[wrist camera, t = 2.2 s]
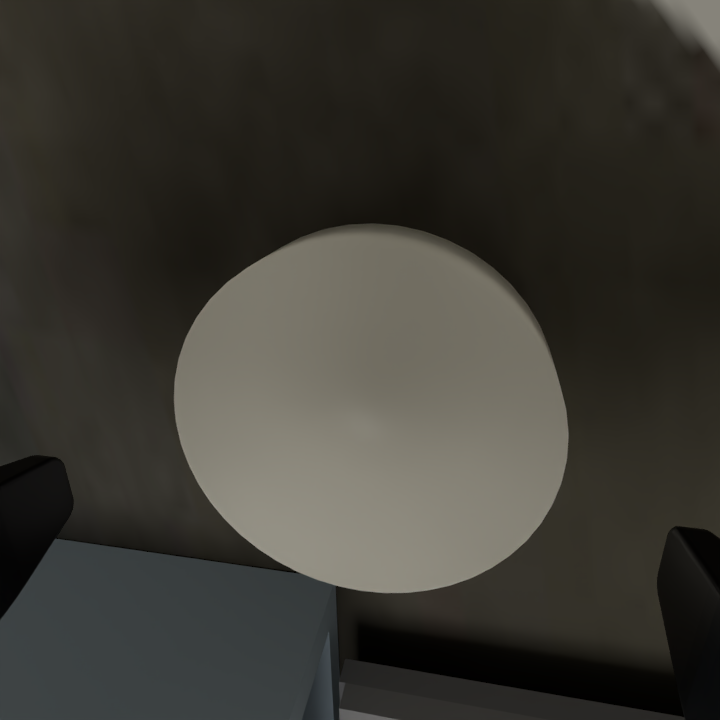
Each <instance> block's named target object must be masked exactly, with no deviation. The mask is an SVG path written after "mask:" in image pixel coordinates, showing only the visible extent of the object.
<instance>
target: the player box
mask: <svg viewBox="0 0 720 720" xmlns="http://www.w3.org/2000/svg"><path fill="white" fill-rule="evenodd" d="M339 679H340V671H339V649H338V627H337V606H336V585H333V584H329V583H326V582H323V581H319V580H316V579H314V578H311V577H309V576H307V575H304V574H298V573H291V572H284V571H277V570H270V569H263V568H256V567H249V566H242V565H235V564H228V563H221V562H214V561H207V560H200V559H194V558H187V557H180V556H173V555H166V554H159V553H152V552H145V551H138V550H131V549H124V548H117V547H110V546H103V545H96V544H90V543H83V542H76V541H69V540H62V539H55V540H54V542H53V543H52V545H51V546H50V548H49V549H48V551H47V552H46V554H45V556H44V557H43V559H42V560H41V562H40V563H39V565H38V566H37V568H36V570H35V571H34V573H33V574H32V576H31V577H30V579H29V580H28V582H27V584H26V585H25V587H24V588H23V590H22V591H21V593H20V594H19V595H18V597H17V598H16V600H15V601H14V603H13V604H12V605H11V607H10V608H9V609H8V611H7V612H6V613H5V615H4V616H3V617H2V619H1V620H0V720H340V717H339V707H340V694H339Z"/></svg>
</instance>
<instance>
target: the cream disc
mask: <svg viewBox="0 0 720 720" xmlns="http://www.w3.org/2000/svg"><path fill="white" fill-rule="evenodd" d="M174 408H175V418H176V425H177V429H178V434H179V438H180V442H181V446H182V448H183V451H184V454H185V456H186V459H187V462H188V464H189V466H190V468H191V470H192V472H193V474H194V476H195V478H196V480H197V482H198V484H199V486H200V487H201V489H202V490H203V492H204V493H205V495H206V496H207V498H208V499H209V501H210V502H211V503H212V505H213V506H214V507H215V508H216V509H217V511H218V512H219V513H220V514H221V515H222V517H223V518H224V519H225V520H226V521H227V522H228V523H229V524H230V525H231V526H232V527H233V528H234V529H235V530H236V531H237V532H238V533H239V534H240V535H241V536H243V537H244V538H245V539H246V540H248V541H249V542H250V543H251V544H253V545H254V546H255V547H256V548H258V549H259V550H261V551H262V552H264V553H265V554H267V555H268V556H270V557H271V558H273V559H274V560H276V561H278V562H280V563H281V564H283V565H285V566H287V567H289V568H291V569H293V570H295V571H297V572H299V573H302V574H304V575H307V576H309V577H311V578H314V579H316V580H319V581H323V582H326V583H329V584H333V585H336V586H339V587H344V588H349V589H354V590H360V591H368V592H379V593H410V592H418V591H427V590H432V589H437V588H441V587H446V586H450V585H453V584H456V583H459V582H462V581H464V580H467V579H470V578H473V577H475V576H477V575H479V574H481V573H483V572H485V571H487V570H489V569H491V568H492V567H494V566H495V565H497V564H498V563H500V562H501V561H503V560H504V559H506V558H507V557H509V556H510V555H511V554H512V553H513V552H515V551H516V550H517V549H518V548H519V547H520V546H521V545H522V544H524V543H525V542H526V541H527V540H528V538H529V537H530V536H531V535H532V534H533V533H534V531H535V530H536V529H537V528H538V527H539V525H540V524H541V523H542V521H543V519H544V518H545V516H546V514H547V513H548V511H549V510H550V508H551V506H552V505H553V502H554V500H555V497H556V495H557V493H558V490H559V488H560V485H561V483H562V479H563V474H564V470H565V466H566V461H567V451H568V437H569V434H568V423H567V412H566V407H565V403H564V399H563V395H562V391H561V387H560V383H559V380H558V376H557V373H556V369H555V366H554V363H553V359H552V356H551V352H550V349H549V346H548V344H547V341H546V339H545V336H544V334H543V332H542V329H541V327H540V325H539V323H538V321H537V320H536V318H535V316H534V315H533V313H532V311H531V310H530V308H529V306H528V305H527V303H526V302H525V301H524V300H523V298H522V297H521V296H520V295H519V293H518V292H517V291H516V290H515V288H514V287H513V286H512V285H511V284H510V283H509V282H508V281H507V280H506V279H505V278H504V277H503V276H502V275H501V274H499V273H498V272H497V271H496V270H495V269H494V268H493V267H492V266H490V265H489V264H487V263H486V262H485V261H483V260H482V259H480V258H479V257H478V256H476V255H475V254H473V253H472V252H470V251H468V250H466V249H464V248H463V247H461V246H459V245H457V244H455V243H453V242H451V241H449V240H447V239H444V238H441V237H439V236H436V235H433V234H430V233H428V232H425V231H421V230H417V229H412V228H408V227H403V226H398V225H387V224H375V223H369V224H350V225H343V226H338V227H333V228H328V229H323V230H320V231H317V232H314V233H311V234H308V235H305V236H303V237H300V238H298V239H296V240H294V241H292V242H290V243H288V244H287V245H285V246H283V247H281V248H279V249H277V250H276V251H274V252H272V253H271V254H269V255H267V256H266V257H264V258H262V259H261V260H259V261H257V262H256V263H254V264H252V265H251V266H249V267H248V268H246V269H245V270H243V271H242V272H241V273H239V274H238V275H236V276H235V277H234V278H232V279H231V280H229V281H228V282H227V283H226V284H225V285H224V286H223V287H222V288H221V289H220V290H219V291H218V292H217V293H216V294H215V295H214V296H213V297H212V298H211V299H210V300H209V301H208V303H207V304H206V305H205V307H204V308H203V309H202V311H201V312H200V313H199V315H198V316H197V317H196V319H195V321H194V323H193V325H192V327H191V329H190V331H189V333H188V334H187V336H186V339H185V341H184V344H183V347H182V350H181V353H180V356H179V359H178V365H177V370H176V376H175V385H174Z"/></svg>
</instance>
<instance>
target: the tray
mask: <svg viewBox="0 0 720 720" xmlns="http://www.w3.org/2000/svg"><path fill="white" fill-rule="evenodd" d="M339 694H340V707H339V717H340V720H685V718H684V717H681V716H675V715H669V714H663V713H658V712H652V711H646V710H640V709H634V708H629V707H623V706H617V705H611V704H606V703H600V702H594V701H588V700H582V699H577V698H571V697H565V696H559V695H553V694H548V693H542V692H536V691H530V690H524V689H519V688H513V687H507V686H501V685H495V684H490V683H484V682H478V681H472V680H466V679H461V678H455V677H449V676H443V675H437V674H432V673H426V672H420V671H414V670H408V669H403V668H397V667H391V666H385V665H379V664H374V663H368V662H362V661H356V660H351V659H345V660H344V664H343V668H342V672H341V676H340V679H339Z"/></svg>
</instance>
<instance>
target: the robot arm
mask: <svg viewBox="0 0 720 720" xmlns="http://www.w3.org/2000/svg"><path fill="white" fill-rule="evenodd" d="M73 504H74V500H73V495H72V491H71V488H70V484H69V480H68V477H67V473H66V469H65V466H64V463H63V462H62V461H61V460H60V459H58V458H56V457H50V456H41V455H34V456H30V457H27V458H24V459H21V460H18V461H15V462H12V463H9V464H6V465H3V466H0V620H1V619H2V617H3V616H4V615H5V613H6V612H7V611H8V609H9V608H10V607H11V605H12V604H13V603H14V601H15V600H16V598H17V597H18V595H19V594H20V593H21V591H22V590H23V588H24V587H25V585H26V584H27V582H28V580H29V579H30V577H31V576H32V574H33V573H34V571H35V570H36V568H37V566H38V565H39V563H40V562H41V560H42V559H43V557H44V556H45V554H46V552H47V551H48V549H49V548H50V546H51V545H52V543H53V542H54V540H55V538H56V537H57V535H58V534H59V532H60V531H61V529H62V527H63V526H64V524H65V523H66V521H67V520H68V518H69V516H70V515H71V512H72V510H73ZM657 590H658V597H659V602H660V606H661V611H662V616H663V621H664V626H665V630H666V635H667V640H668V645H669V650H670V655H671V659H672V664H673V669H674V674H675V679H676V683H677V688H678V693H679V697H680V702H681V706H682V710H683V714H684V718H685V720H720V538H718V537H717V536H716V535H714V534H713V533H711V532H710V531H708V530H705V529H698V528H689V527H680V526H676V527H674V528H672V529H671V530H670V531H669V533H668V536H667V539H666V543H665V547H664V551H663V555H662V559H661V563H660V567H659V571H658V577H657Z"/></svg>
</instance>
